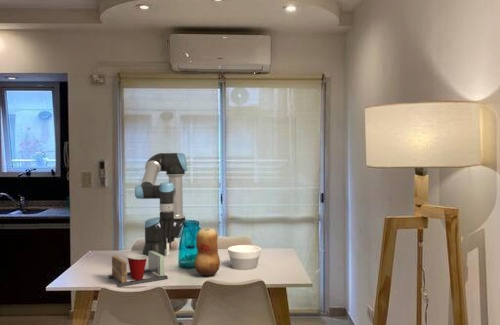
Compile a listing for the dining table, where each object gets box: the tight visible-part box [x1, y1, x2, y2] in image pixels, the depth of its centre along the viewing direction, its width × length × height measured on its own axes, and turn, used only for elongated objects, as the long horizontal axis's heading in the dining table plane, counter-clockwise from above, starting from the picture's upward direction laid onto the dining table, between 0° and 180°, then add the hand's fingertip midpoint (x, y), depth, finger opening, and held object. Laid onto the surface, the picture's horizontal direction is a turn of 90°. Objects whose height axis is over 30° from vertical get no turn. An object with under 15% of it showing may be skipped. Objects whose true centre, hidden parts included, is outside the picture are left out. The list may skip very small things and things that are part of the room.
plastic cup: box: [126, 253, 148, 281], centre depth 245 cm, size 11×11×12 cm
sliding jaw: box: [147, 251, 165, 276], centre depth 250 cm, size 3×16×10 cm, turn 33°
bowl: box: [227, 244, 262, 271], centre depth 268 cm, size 19×19×11 cm
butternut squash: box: [193, 227, 221, 277], centre depth 250 cm, size 14×13×25 cm
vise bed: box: [107, 255, 169, 288], centre depth 245 cm, size 25×19×12 cm
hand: (167, 254), depth 254 cm, fingers closed
